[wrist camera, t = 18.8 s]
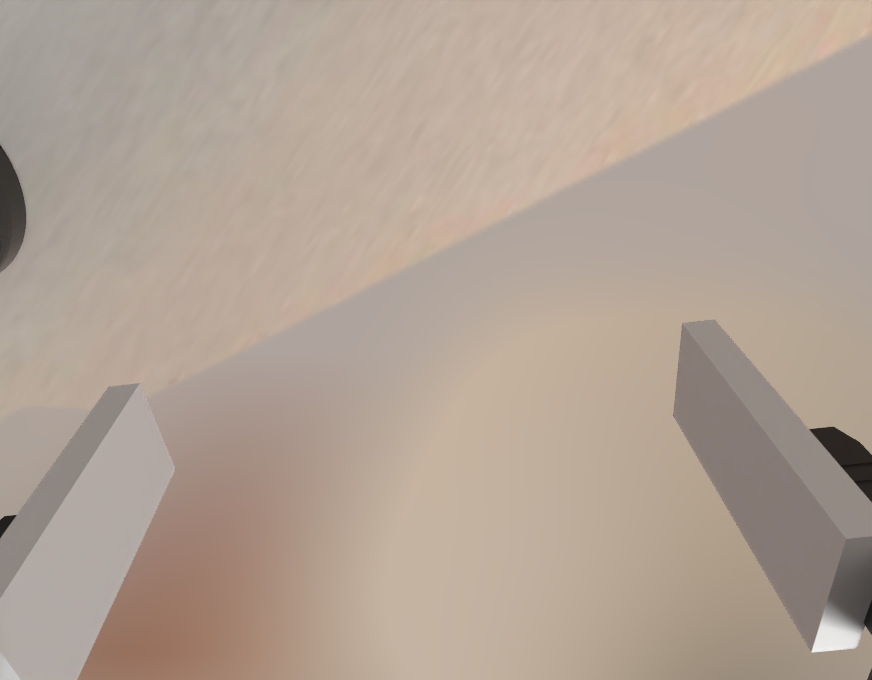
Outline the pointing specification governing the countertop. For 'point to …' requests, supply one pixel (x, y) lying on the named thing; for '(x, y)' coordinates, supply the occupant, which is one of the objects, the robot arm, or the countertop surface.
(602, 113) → the countertop surface
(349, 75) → the countertop surface
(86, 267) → the countertop surface
